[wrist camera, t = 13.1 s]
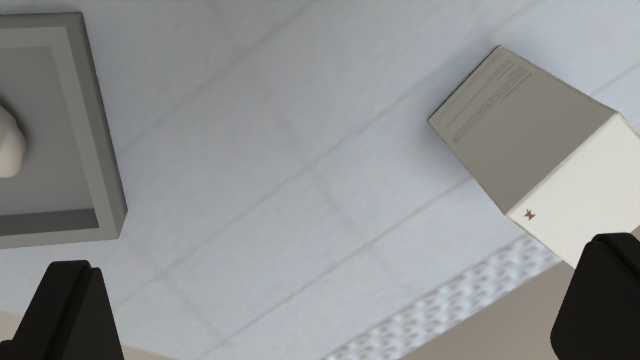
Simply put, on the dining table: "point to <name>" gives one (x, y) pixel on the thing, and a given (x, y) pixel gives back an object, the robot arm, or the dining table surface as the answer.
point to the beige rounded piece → (10, 145)
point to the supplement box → (544, 153)
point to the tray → (56, 136)
